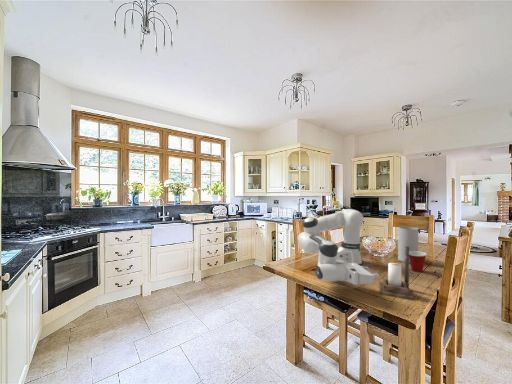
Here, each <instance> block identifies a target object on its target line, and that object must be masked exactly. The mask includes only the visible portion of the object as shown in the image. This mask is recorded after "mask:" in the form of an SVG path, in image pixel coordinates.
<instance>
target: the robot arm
mask: <svg viewBox="0 0 512 384" xmlns="http://www.w3.org/2000/svg"><path fill="white" fill-rule="evenodd" d="M363 222H364V215H363V214H362V212H360V211H359V210H356V209H353V208H346V209H342V210H340V211H337V212H334V213H331V214H326V215H322V216H320V217H319V216H318V218H316V217H313V216H312V217H306V218H305V219H303V220H302V227H303V231H302V232H300V233H299V234H298V236H297V242H298V244H299V246H300V248H301V249H302V250H303V251H304V252H305V253H306V254H309V255H310V254H311V255H312V254H315V253H317V252H318V259H317V265H315V269H314V271H315V275H316V277H317V279H318V280H320V281H323V282H338V281H340V282H347V283H350V284H352V285H355V286H357V285H359V284H360V285H368V284H374V283H375V279H378V278H380V274H379V273H378V272H374V273H371V272H370V267H368V266H363V265H360V264H362V263H363V261H362V257H361V242H360V240H361V239H360V238H361V237H360V236H361V229H362V225H363ZM343 226H345V228H344V230H343V240H342V241H340V246H339V247H338V246H337V244H336V243H335V242H333V241H330V240H328V239H326V238H324V237H322V234H321V232H326V231H330V230H331V231H332V230H335V229H339V228H341V227H343Z"/></svg>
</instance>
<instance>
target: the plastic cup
mask: <svg viewBox="0 0 512 384" xmlns="http://www.w3.org/2000/svg"><path fill="white" fill-rule="evenodd" d="M427 255H428V254H427V253H426V252H424V251H420V250H418V251H409V260H410V263H409V266H410V268H411V271H413V272H414V273H415V272H416V273H423V270H424V266H425V261H426V256H427Z"/></svg>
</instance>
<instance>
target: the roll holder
mask: <svg viewBox="0 0 512 384" xmlns="http://www.w3.org/2000/svg"><path fill="white" fill-rule="evenodd" d="M403 275H404V278H403V279H404V281H403V280H401V287H397V286H391V285H388V278H382V281H378V282H379V283H378V285H379V293H380V295H383V296H390V297H394V298H399V299H407V300H411V301H412V300H414V298H413V297H414V296H413V294H412V291H411V289H410V263H409V247H408V246H405V262H404V274H403Z"/></svg>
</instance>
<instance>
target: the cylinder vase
mask: <svg viewBox="0 0 512 384" xmlns="http://www.w3.org/2000/svg"><path fill="white" fill-rule="evenodd" d="M397 229H398V230H397V232H398V233H397V234H398V235H397V244H398V245H397V259H398V261H400V262H403V263H405V246H408V247H409V251H419V228H418V227H415V226H414V227H412V226H398V228H397ZM409 264H410V260H409Z"/></svg>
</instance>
